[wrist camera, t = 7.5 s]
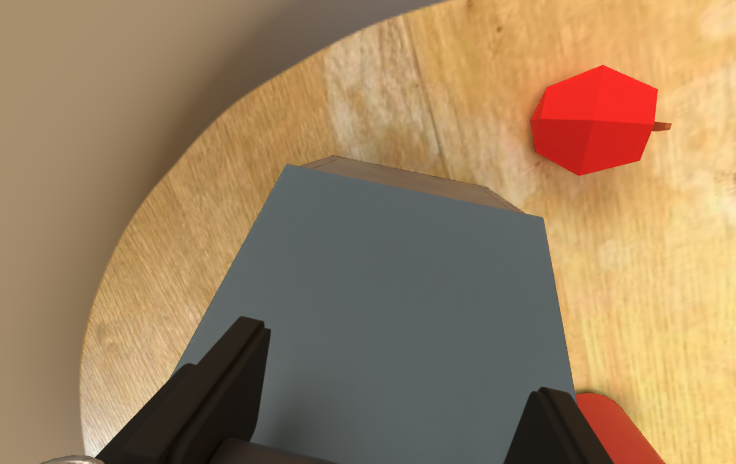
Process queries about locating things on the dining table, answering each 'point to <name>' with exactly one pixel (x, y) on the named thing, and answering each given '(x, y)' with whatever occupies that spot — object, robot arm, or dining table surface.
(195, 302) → the dining table surface
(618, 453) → the beer can
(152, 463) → the robot arm
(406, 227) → the box lid
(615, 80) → the apple
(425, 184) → the grey box
